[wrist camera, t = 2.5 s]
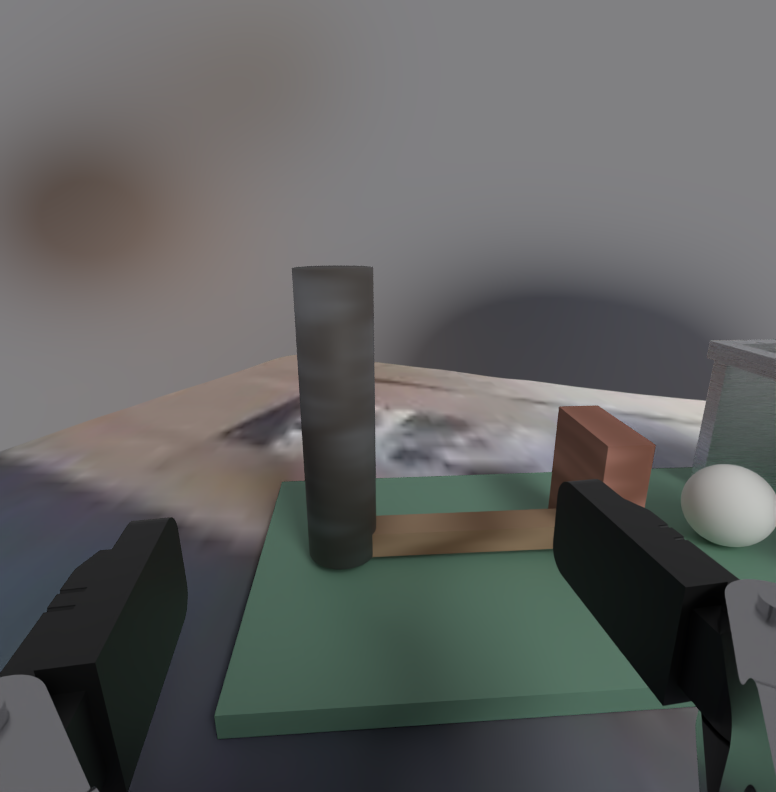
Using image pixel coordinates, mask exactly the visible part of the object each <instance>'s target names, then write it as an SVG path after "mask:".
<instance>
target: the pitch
mask: <svg viewBox="0 0 776 792" xmlns="http://www.w3.org/2000/svg"><path fill="white" fill-rule="evenodd" d="M692 468H693V467H685V468H657V469H651V474H650V480H649V486H648V491H647V497H646V502H645V508H646V509H648V510H650V511H651V512H653V513H654V514H655V515H657V516H658V517H659V518H660V519H662V520H663V521H664V522H666V523H667V524H668V527H669V528H671V527H672V528H673V529H675V530H676V531H677V532H679V533H680V534H681V535H683V536H684V539H685V540H689V541H690V542H692V543H693V544H694V545H696V546H697V547H698V548H699V549H701V550H702V551H703V552H705V553H706V554H707V555H708V556H710V557H711V558H712V559H714V560H715V561H716V562H718V563H719V564H720V565H721V566H723V567H724V568H725V569H727V570H728V571H729V572H731V573H732V574H733V575H734V576H736V577H737V578H738V579H740V580H742V579H756V580H764V581H768V582H773V583H776V527H775V529H774V530H773V531H772V533H771V534H770V535H769V536H768V537H766V538H765V539H764V540H762V541H760V542H758V543H756V544H753V545H750V546H745V547H727V546H722V545H718V544H715V543H713V542H711V541H709V540H707V539H705V538H703V537H702V536H700V535H699V534H698V533H697V532H696V531H695V530H694V529H693V528H692V527H691V526H690V525H689V523H688V522H687V520H686V518H685V517H684V514H683V511H682V507H681V494H682V490H683V488H684V485H685V483H686V482H687V481H688V479H689V478H690V477H691V473H692ZM551 477H552V472H544V473H516V474H488V475H460V476H431V477H403V478H376V516H382V515H407V514H432V513H456V512H481V511H506V510H531V509H548V505H549V496H550V487H551ZM772 489H773V490H774V492H775V494H776V487H772ZM680 707H695V705H694V703H693V702H692V701H690V702H684V703H679V704H673V705H667V706H662V704H661V703H660V702H659V700H658V699H657V698H656V697H655V695H654V694H653V693H652V691H651V690H650V689H649V687H648V686H647V685H646V684H645V682H644V681H643V680H642V678H641V677H640V676H639V675H638V673H637V672H636V671H635V669H634V668H633V667H632V666H631V664H630V663H629V662H628V660H627V659H626V658H625V656H624V655H623V654H622V653H621V651H620V650H619V649H618V647H617V646H616V645H615V644H614V642H613V641H612V640H611V638H610V637H609V636H608V634H607V633H606V632H605V631H604V629H603V628H602V627H601V625H600V624H599V623H598V622H597V620H596V619H595V618H594V616H593V615H592V614H591V613H590V611H589V610H588V609H587V607H586V606H585V605H584V603H583V602H582V601H581V600H580V598H579V597H578V596H577V594H576V593H575V592H574V591H573V589H572V588H571V587H570V585H569V584H568V583H567V581H566V580H565V579H564V578H563V576H562V575H561V573H560V572H559V570H558V568H557V565H556V562H555V559H554V554H553V549H538V550H516V551H494V552H472V553H451V554H429V555H407V556H385V557H372V558H371V559H370V560H369V561H368V562H366V563H365V564H363V565H361V566H358V567H355V568H351V569H341V570H338V569H329V568H326V567H323V566H320V565H319V564H317V563H316V562H314V561H313V559H312V558H311V556H310V553H309V537H308V521H307V505H306V489H305V481H290V482H282V484H281V488H280V491H279V495H278V498H277V501H276V505H275V508H274V512H273V515H272V519H271V522H270V526H269V529H268V532H267V536H266V539H265V543H264V546H263V550H262V553H261V557H260V560H259V564H258V567H257V570H256V574H255V577H254V581H253V584H252V588H251V591H250V595H249V598H248V601H247V605H246V608H245V612H244V615H243V619H242V622H241V626H240V629H239V633H238V636H237V639H236V643H235V646H234V650H233V653H232V657H231V660H230V664H229V667H228V670H227V674H226V677H225V681H224V684H223V688H222V691H221V695H220V698H219V701H218V705H217V708H216V712H215V715H214V718H215V724H216V731H217V738H218V739H226V738H241V737H255V736H270V735H285V734H299V733H314V732H329V731H343V730H358V729H373V728H387V727H402V726H417V725H431V724H446V723H461V722H475V721H490V720H505V719H519V718H534V717H548V716H563V715H578V714H592V713H607V712H622V711H636V710H651V709H666V708H680Z"/></svg>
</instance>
